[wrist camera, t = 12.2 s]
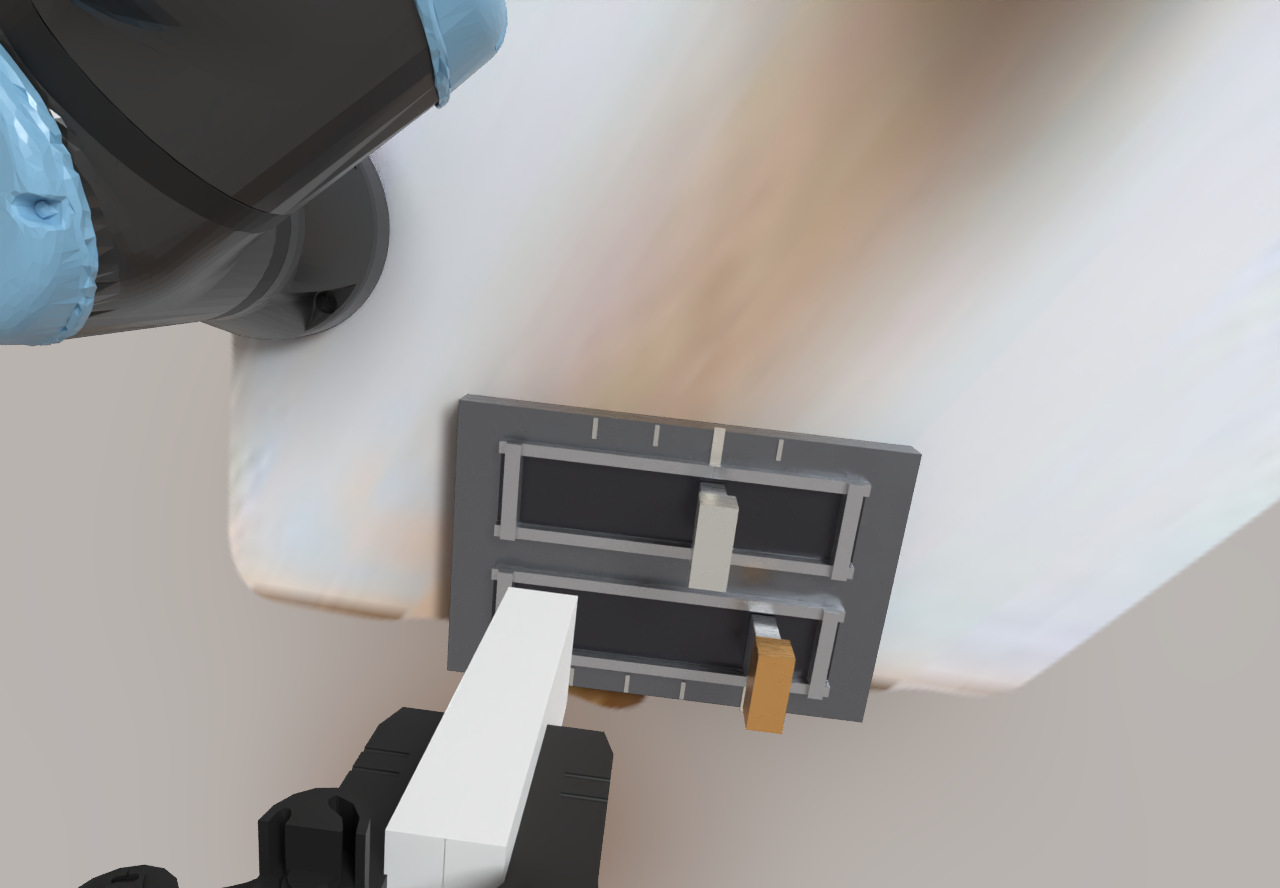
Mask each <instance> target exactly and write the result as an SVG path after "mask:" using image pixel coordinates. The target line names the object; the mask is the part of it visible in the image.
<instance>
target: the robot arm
mask: <svg viewBox="0 0 1280 888" xmlns="http://www.w3.org/2000/svg"><path fill="white" fill-rule="evenodd" d="M506 28H507V9H506V3H505V0H0V345H30V346H36V345H51V344H52V343H53V344H54V343H60V342H61V341H63V340H65V339H72V338H79V337H87V336H94V335H102V334H109V333H116V332H124V331H131V330H138V329H146V328H154V327H161V326H169V325H176V324H184V323H191V322H198V321H201V322H203V323H206V324H209V325H211V326H214V327H217V328H220V329H222V330H225V331H228V332H231V333H234V334H237V335H240V336H245V337H249V338H256V339H267V340H281V339H290V338H296V337H301V336H307V335H311V334H315V333H319V332H322V331H325V330H327V329H329V328H332V327H334V326H336V325H338V324H339V323H341V322H342V321H344V320H346V319H347V318H348V317H350V316H351V315H352V314H353V313H354V312H355V311H357V310H358V309H359V308H360V307H361V305H362V304H363V303H364V302H365V301H366V300H367V298H368V297H369V296H370V294H371V292H372V291H373V289H374V288H375V286H376V284H377V282H378V280H379V278H380V276H381V273H382V270H383V267H384V264H385V261H386V256H387V251H388V245H389V214H388V207H387V202H386V197H385V193H384V190H383V187H382V184H381V181H380V178H379V176H378V174H377V171H376V169H375V167H374V165H373V163H372V161H371V159H370V158H369V155H370V154H371V153H373V152H374V151H375V150H377V149H378V148H379V147H380V146H382V145H383V144H384V143H386V142H387V141H388V140H390V139H391V138H392V137H393V136H395V135H396V134H397V133H399V132H400V131H401V130H403V129H404V128H405V127H406V126H408V125H409V124H410V123H412V122H413V121H414V120H415V119H417V118H418V117H419V116H421V115H422V114H423V113H425V112H426V111H427V110H428V109H430V108H431V107H432V106H434V105H435V106H436V107H437V108H438V109H439V108H442V107H443V106H445V105H446V103H447V102H448V100H449V98H450V93H451V92H453V91H454V90H455V89H456V88H457V87H458V86H460V85H461V84H462V83H463V82H464V81H466V80H467V79H468V78H469V77H470V76H471V75H473V74H474V73H475V72H476V71H477V70H478V69H480V68H481V67H482V66H483V65H484V64H486V63H487V62H488V61H489V60H490V59H491V58H492V57H493V56H494V55H495V54H496V53H497V51H498V50H499V48H500V47H501V45H502V43H503V41H504V37H505V33H506ZM577 601H578V596H574V595H567V594H559V593H552V592H544V591H536V590H529V589H521V588H514V587H508V589H507V591H506V593H505V595H504V597H503V599H502V601H501V603H500V605H499V607H498V609H497V611H496V613H495V615H494V617H493V619H492V621H491V623H490V625H489V627H488V629H487V631H486V633H485V635H484V637H483V639H482V641H481V642H480V644H479V646H478V648H477V650H476V652H475V654H474V656H473V658H472V660H471V662H470V664H469V666H468V668H467V670H466V672H465V674H464V676H463V678H462V680H461V682H460V684H459V686H458V688H457V690H456V692H455V694H454V696H453V698H452V700H451V702H450V704H449V706H448V708H447V710H446V711H445V713H443V712H436V711H429V710H421V709H414V708H407V707H403V708H401V709H400V710H398V711H397V712H396V713H394V714H393V715H392V716H390V717H389V718H387V719H386V720H385V721H384V722H382V723H381V724H379V726H378V727H377V729H376V730H375V732H374V734H373V735H372V737H371V738H370V740H369V742H368V743H367V744H366V746H365V749H364V752H361V754H360V755H359V757H358V759H357V760H356V762H355V763H354V765H353V768H352V771H349V773H348V774H347V776H346V777H345V779H344V781H343V782H342V784H341V785H340V787H339V788H315V789H311V790H307V791H303V792H300V793H296V794H293V795H291V796H290V797H288V798H286V799H284V800H283V801H281V802H279V803H277V804H275V805H273V807H271V809H269V811H267V812H266V813H265V814H264V815H263V816H262V817H261V818H260V819H259V820H258V837H259V872H260V875H259V877H258V878H257V879H254V880H252V881H249V882H247V883H243V884H238V885H234V886H230V887H224V888H598V875H599V867H600V859H601V851H602V843H603V834H604V827H605V818H606V810H607V802H608V794H609V786H610V778H611V769H612V761H613V752H612V750H611V747H610V745H609V743H608V740H607V738H606V735H605V733H604V732H599V731H593V730H585V729H578V728H570V727H562V722H563V717H564V713H565V709H566V704H567V695H568V686H569V676H570V667H571V657H572V648H573V638H574V629H575V620H576V610H577ZM79 888H179V887H178V882H177V878H176V877H174V876H173V875H172V874H171V873H169V872H168V871H167V870H166V869H164V868H159V867H154V866H148V865H140V866H132V867H124V868H119V869H116V870H114V871H111V872H108V873H106V874H103V875H100V876H98V877H95V878H93V879H91V880H90V881H88V882H86V883H85V884H83V885H82V886H80V887H79Z"/></svg>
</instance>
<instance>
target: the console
mask: <svg viewBox="0 0 1280 888" xmlns="http://www.w3.org/2000/svg"><path fill="white" fill-rule="evenodd" d="M921 456H922V454H921V453H919V452H918V451H917V450H915V449H914V448H913V447H912V446H903V445H895V444H886V443H878V442H869V441H861V440H852V439H844V438H835V437H827V436H818V435H810V434H801V433H793V432H784V431H776V430H767V429H759V428H750V427H742V426H733V425H725V424H716V423H708V422H699V421H691V420H682V419H674V418H665V417H657V416H648V415H640V414H632V413H623V412H615V411H606V410H598V409H589V408H581V407H572V406H564V405H555V404H547V403H538V402H530V401H521V400H513V399H504V398H496V397H487V396H479V395H470V394H467V395H466V396H464V397H462V398H461V399H459V406H458V429H457V453H456V476H455V500H454V523H453V547H452V570H451V594H450V617H449V642H448V666H447V670H450V671H458V672H466V670H467V668H468V666H469V664H470V662H471V660H472V658H473V656H474V654H475V652H476V650H477V648H478V646H479V644H480V642H481V641H482V639H483V637H484V635H485V633H486V631H487V629H488V627H489V625H490V623H491V621H492V619H493V617H494V615H495V613H496V611H497V609H498V607H499V605H500V603H501V601H502V599H503V597H504V595H505V593H506V591H507V589H508V587H514V588H521V589H529V590H536V591H544V592H552V593H559V594H567V595H574V596H578V601H577V610H576V620H575V629H574V638H573V648H572V657H571V667H570V676H569V686H577V687H584V688H592V689H600V690H608V691H616V692H624V693H632V694H640V695H648V696H656V697H664V698H672V699H680V700H688V701H696V702H704V703H712V704H720V705H727V706H735V707H740V711H743V703H744V697H745V691H746V681H745V675H744V669H743V661H744V656H745V650H746V644H747V638H748V632H749V626H750V620H751V614H756V615H764V616H772V617H775V620H776V623H777V627H778V630H779V634H780V637H781V639H784V640H790V643H791V646H792V649H793V652H794V656H795V659H796V661H795V666H794V671H793V677H792V682H791V687H790V692H789V698H788V703H787V708H786V713H791V714H799V715H807V716H815V717H823V718H831V719H839V720H847V721H855V722H862V721H863V716H864V712H865V707H866V702H867V698H868V694H869V689H870V685H871V680H872V676H873V671H874V667H875V662H876V658H877V653H878V649H879V644H880V640H881V635H882V631H883V627H884V622H885V618H886V613H887V609H888V604H889V600H890V595H891V591H892V586H893V582H894V577H895V573H896V568H897V564H898V559H899V555H900V550H901V546H902V541H903V537H904V532H905V528H906V523H907V519H908V514H909V510H910V505H911V501H912V496H913V492H914V487H915V483H916V478H917V474H918V469H919V465H920V460H921ZM700 482H708V483H716V484H725V489H726V493H727V495H729V496H736V500H737V504H738V507H739V512H738V518H737V524H736V531H735V537H734V544H733V550H732V557H731V563H730V570H729V576H728V582H727V589H726V592H719V591H711V590H703V589H694V588H688V567H689V560H690V552H691V545H692V538H693V530H694V523H695V516H696V509H697V501H698V494H699V487H700Z"/></svg>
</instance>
